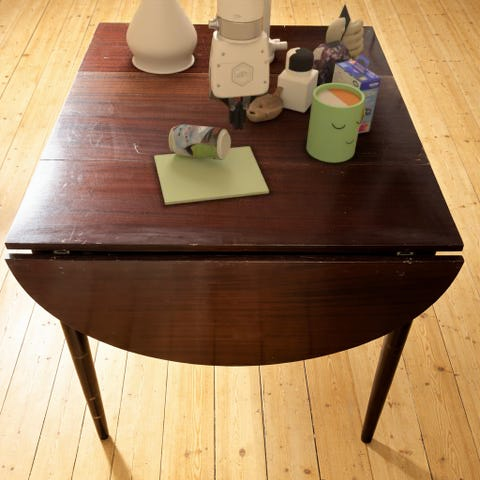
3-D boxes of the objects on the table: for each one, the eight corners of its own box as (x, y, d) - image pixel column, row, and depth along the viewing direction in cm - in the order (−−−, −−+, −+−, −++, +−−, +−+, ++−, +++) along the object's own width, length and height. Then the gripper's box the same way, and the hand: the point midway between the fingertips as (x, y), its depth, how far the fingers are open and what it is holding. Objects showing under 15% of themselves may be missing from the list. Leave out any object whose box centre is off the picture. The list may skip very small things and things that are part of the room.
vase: (198, 45, 161) (195, -62, 143) (197, 76, 149) (194, -37, 131) (131, 44, 160) (120, -64, 142) (125, 75, 148) (112, -39, 130)
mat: (249, 148, 128) (249, 146, 127) (268, 193, 117) (269, 190, 117) (154, 158, 124) (153, 155, 124) (165, 205, 114) (165, 202, 113)
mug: (325, 168, 123) (333, 113, 115) (297, 143, 130) (303, 89, 121) (374, 153, 128) (386, 99, 119) (345, 129, 134) (354, 76, 125)
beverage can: (223, 133, 115) (166, 118, 118) (218, 171, 119) (164, 156, 122) (236, 126, 120) (181, 113, 123) (231, 163, 124) (178, 149, 127)
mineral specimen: (306, 61, 152) (327, 25, 145) (341, 83, 153) (364, 48, 146) (298, 77, 145) (319, 40, 138) (335, 100, 147) (358, 65, 140)
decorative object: (350, 60, 162) (355, 78, 155) (314, 49, 160) (318, 66, 153) (372, 12, 153) (379, 29, 146) (334, -1, 151) (339, 15, 144)
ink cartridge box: (371, 131, 134) (384, 66, 123) (350, 137, 132) (362, 71, 121) (345, 111, 140) (356, 47, 129) (325, 116, 138) (334, 52, 127)
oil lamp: (259, 131, 132) (260, 110, 129) (234, 118, 136) (234, 97, 132) (297, 110, 139) (299, 89, 135) (272, 98, 142) (274, 78, 139)
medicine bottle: (315, 99, 143) (321, 48, 134) (304, 113, 138) (310, 61, 129) (286, 92, 145) (291, 41, 136) (275, 106, 140) (279, 54, 131)
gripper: (199, 37, 97) (201, 140, 110) (289, 31, 100) (280, 133, 113) (191, 19, 102) (194, 119, 115) (277, 13, 104) (270, 113, 118)
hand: (237, 126), depth 114 cm, fingers closed
